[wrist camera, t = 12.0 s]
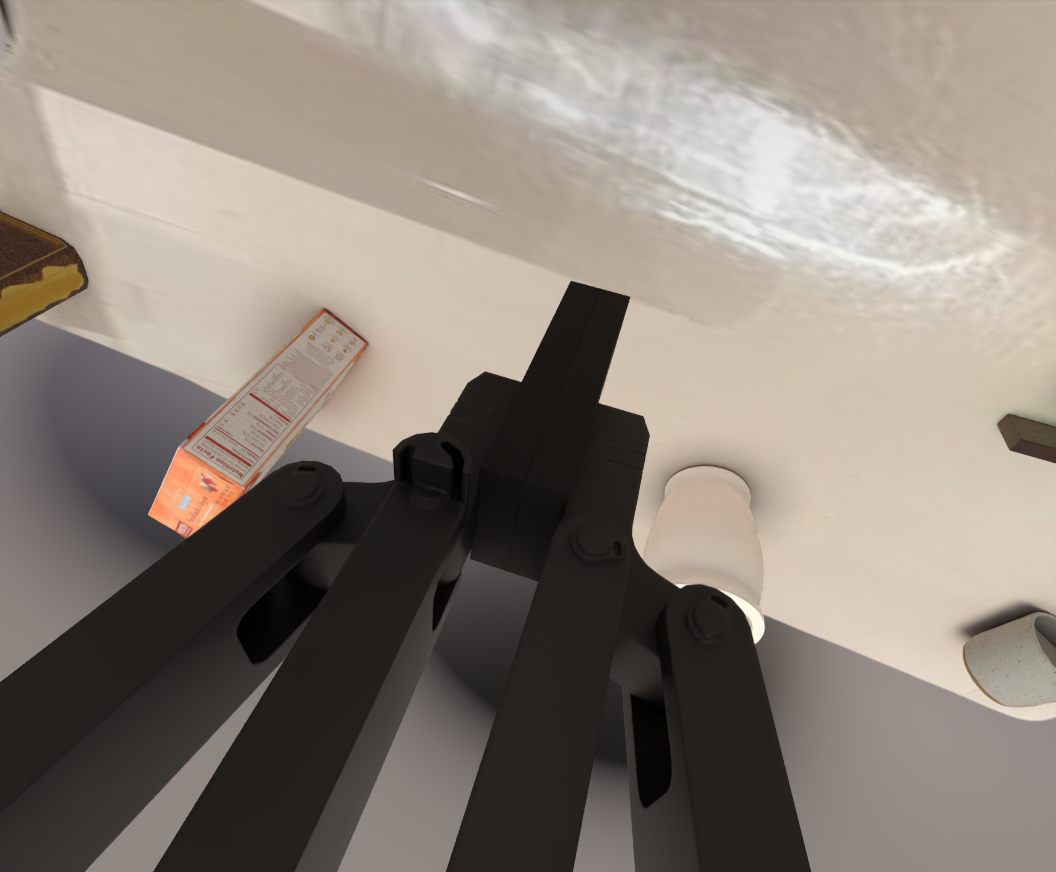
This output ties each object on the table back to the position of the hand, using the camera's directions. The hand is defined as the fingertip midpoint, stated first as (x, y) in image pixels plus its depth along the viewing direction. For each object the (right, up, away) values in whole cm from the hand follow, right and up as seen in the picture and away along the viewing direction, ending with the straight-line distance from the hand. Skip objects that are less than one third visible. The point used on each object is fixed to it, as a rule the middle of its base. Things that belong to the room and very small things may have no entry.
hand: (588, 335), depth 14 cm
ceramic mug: (+50, -23, +44) cm, 71 cm away
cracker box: (-24, +6, +46) cm, 52 cm away
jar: (+17, -8, +43) cm, 47 cm away
